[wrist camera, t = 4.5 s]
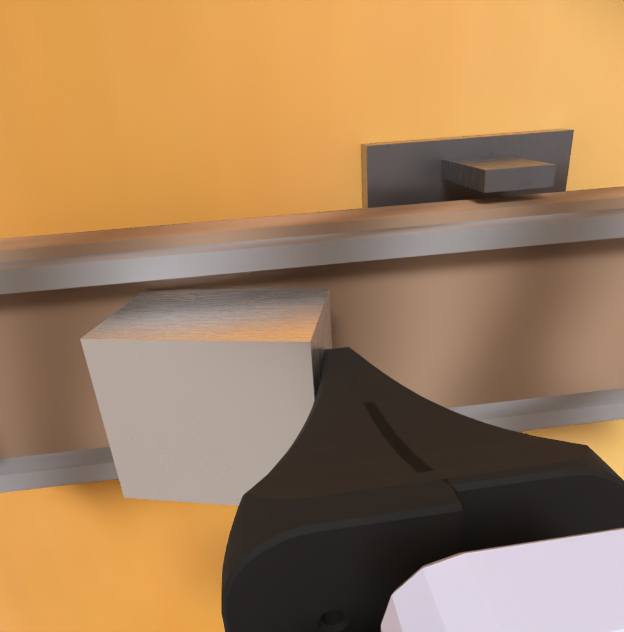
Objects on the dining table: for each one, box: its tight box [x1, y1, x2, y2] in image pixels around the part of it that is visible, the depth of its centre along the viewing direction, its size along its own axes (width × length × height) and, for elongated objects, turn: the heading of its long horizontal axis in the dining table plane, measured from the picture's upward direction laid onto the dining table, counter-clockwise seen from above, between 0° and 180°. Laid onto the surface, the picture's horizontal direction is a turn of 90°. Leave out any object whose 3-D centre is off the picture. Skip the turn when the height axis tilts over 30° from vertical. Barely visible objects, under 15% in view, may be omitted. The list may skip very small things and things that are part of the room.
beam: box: [0, 187, 624, 493], centre depth 14 cm, size 23×7×4 cm, turn 94°
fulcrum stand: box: [361, 129, 574, 433], centre depth 17 cm, size 7×10×4 cm
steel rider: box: [80, 289, 332, 506], centre depth 12 cm, size 5×4×3 cm
